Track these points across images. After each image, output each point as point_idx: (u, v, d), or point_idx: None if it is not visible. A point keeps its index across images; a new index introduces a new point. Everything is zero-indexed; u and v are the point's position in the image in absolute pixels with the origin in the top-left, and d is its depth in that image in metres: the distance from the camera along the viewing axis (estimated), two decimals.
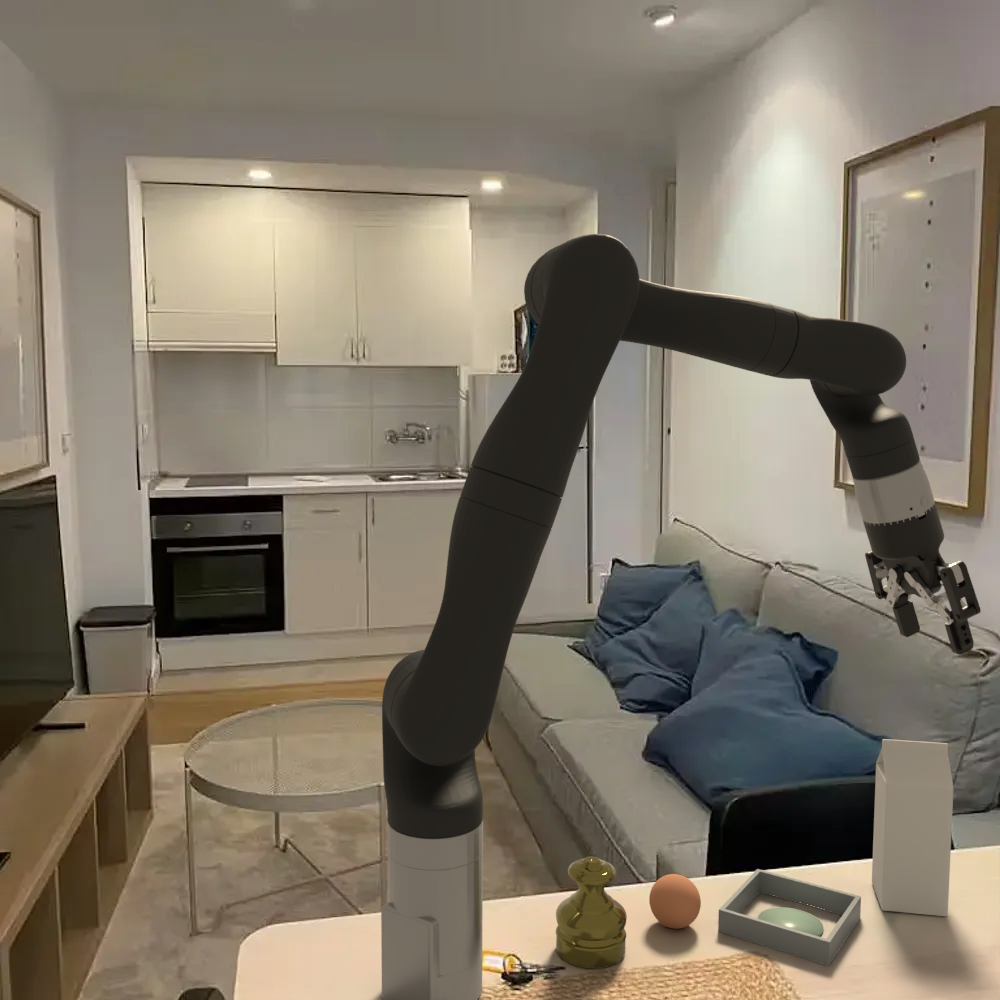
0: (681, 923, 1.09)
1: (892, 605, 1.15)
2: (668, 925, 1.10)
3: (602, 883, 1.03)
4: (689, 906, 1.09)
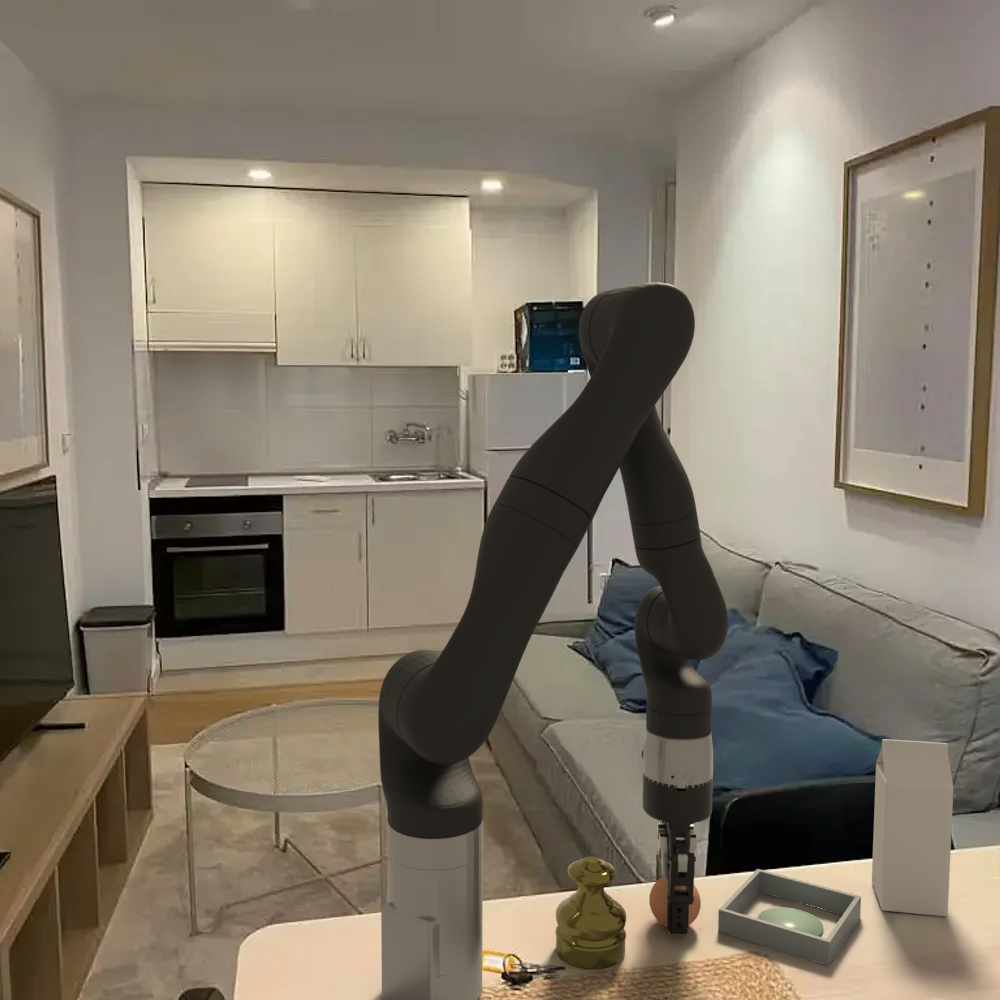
0: None
1: None
2: None
3: (602, 883, 1.03)
4: (689, 906, 1.09)
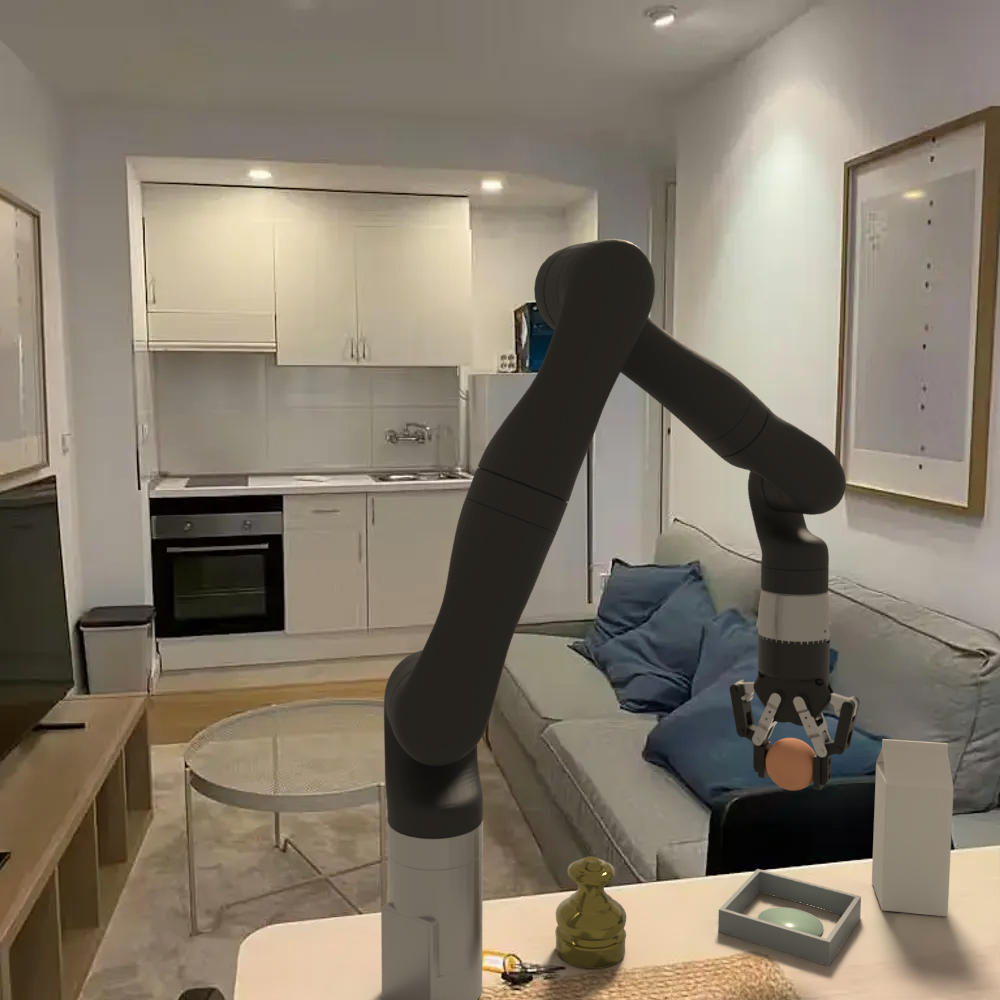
0: None
1: (760, 743, 1.12)
2: (806, 786, 1.10)
3: (602, 883, 1.03)
4: None
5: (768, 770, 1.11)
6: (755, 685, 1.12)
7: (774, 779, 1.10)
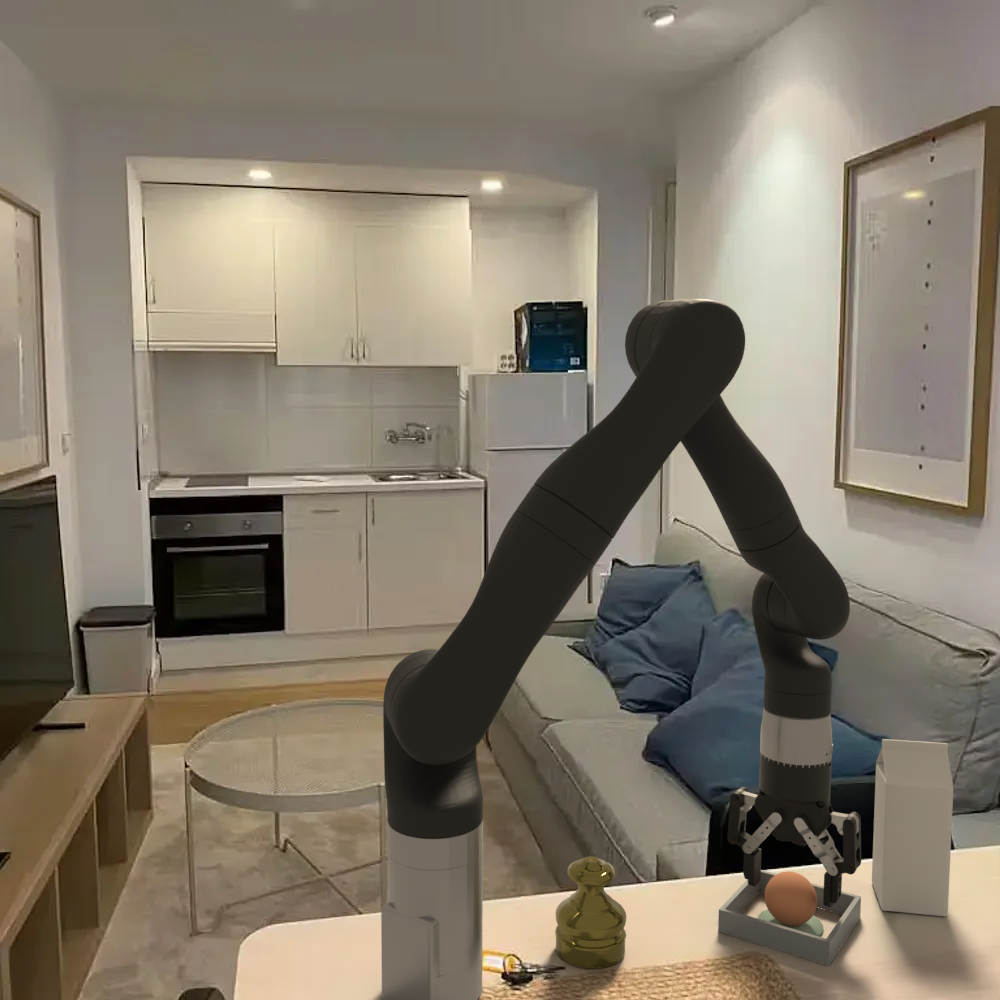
0: None
1: (750, 851, 1.13)
2: (804, 922, 1.10)
3: (602, 883, 1.03)
4: None
5: (767, 904, 1.11)
6: (757, 800, 1.12)
7: (773, 914, 1.11)
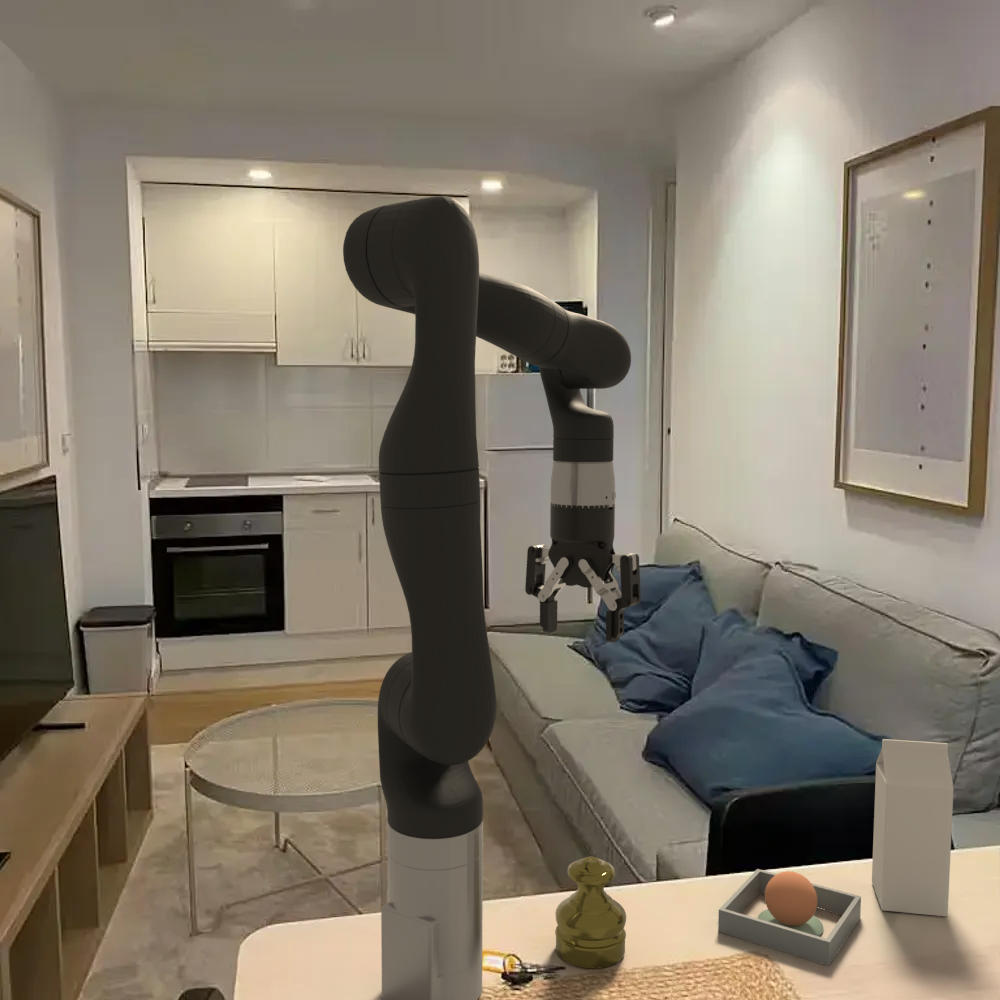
0: None
1: (544, 599, 1.21)
2: (804, 922, 1.10)
3: (602, 883, 1.03)
4: (816, 894, 1.11)
5: (767, 904, 1.11)
6: (549, 550, 1.20)
7: (773, 914, 1.11)
